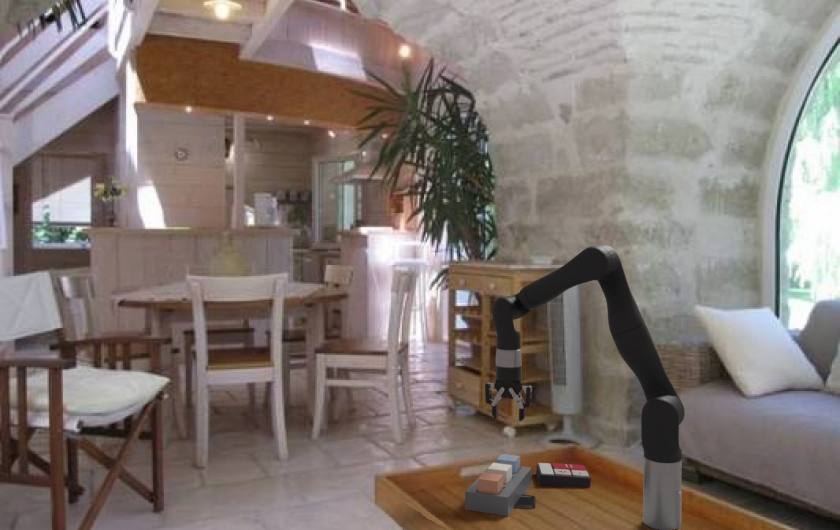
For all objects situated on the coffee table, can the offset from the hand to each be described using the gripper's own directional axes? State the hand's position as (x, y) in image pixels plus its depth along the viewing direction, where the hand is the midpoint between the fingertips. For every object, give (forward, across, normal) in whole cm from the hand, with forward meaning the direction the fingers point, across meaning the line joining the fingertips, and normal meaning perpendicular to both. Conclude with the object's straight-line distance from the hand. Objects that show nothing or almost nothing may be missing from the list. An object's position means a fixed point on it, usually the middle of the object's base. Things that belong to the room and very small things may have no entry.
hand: (508, 419), depth 210 cm
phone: (+21, -3, +12) cm, 24 cm away
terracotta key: (+15, 0, +18) cm, 24 cm away
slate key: (+15, 0, 0) cm, 15 cm away
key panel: (+20, 0, +9) cm, 22 cm away
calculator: (+21, -14, -11) cm, 27 cm away
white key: (+15, 0, +9) cm, 18 cm away
